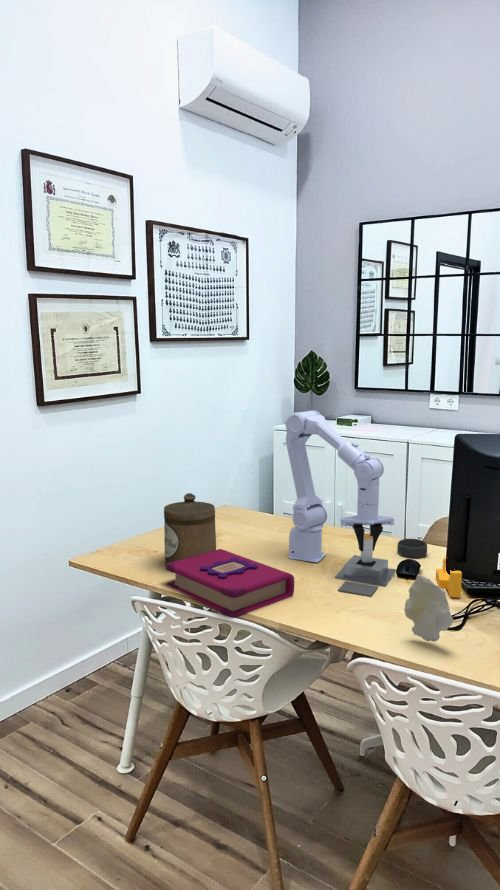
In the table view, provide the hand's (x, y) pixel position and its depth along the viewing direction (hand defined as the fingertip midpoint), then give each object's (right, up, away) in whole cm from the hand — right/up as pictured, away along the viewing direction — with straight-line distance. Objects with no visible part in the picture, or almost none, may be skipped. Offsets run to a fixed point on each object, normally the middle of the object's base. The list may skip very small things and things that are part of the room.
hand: (366, 549), depth 181 cm
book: (-38, -10, -11) cm, 41 cm away
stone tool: (+6, -14, -39) cm, 42 cm away
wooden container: (-50, -7, +7) cm, 51 cm away
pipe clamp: (+20, -9, -8) cm, 24 cm away
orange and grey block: (0, -3, 0) cm, 3 cm away
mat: (-4, -9, -10) cm, 14 cm away
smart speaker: (+18, -5, +19) cm, 26 cm away
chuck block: (0, -7, +1) cm, 7 cm away
